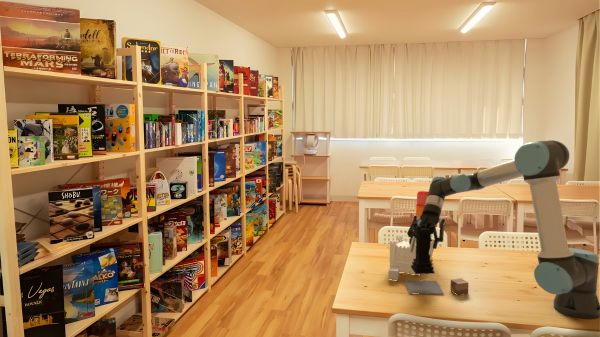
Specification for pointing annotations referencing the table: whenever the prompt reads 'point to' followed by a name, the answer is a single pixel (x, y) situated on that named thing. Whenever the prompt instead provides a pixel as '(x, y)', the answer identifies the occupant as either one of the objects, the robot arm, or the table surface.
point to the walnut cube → (459, 286)
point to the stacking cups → (421, 206)
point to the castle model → (402, 254)
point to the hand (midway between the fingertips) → (420, 253)
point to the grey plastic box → (394, 272)
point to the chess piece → (423, 249)
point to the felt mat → (423, 287)
